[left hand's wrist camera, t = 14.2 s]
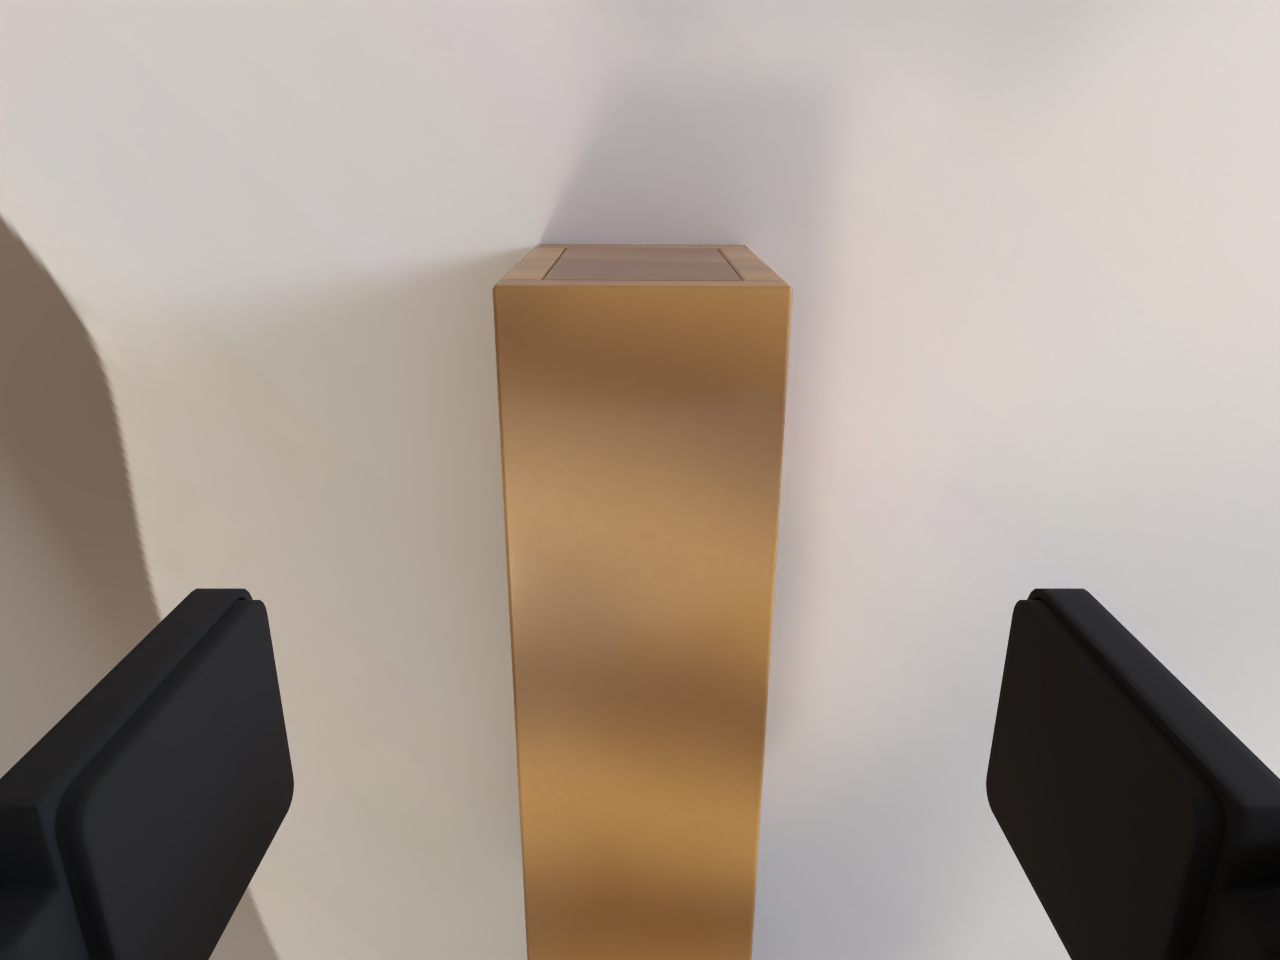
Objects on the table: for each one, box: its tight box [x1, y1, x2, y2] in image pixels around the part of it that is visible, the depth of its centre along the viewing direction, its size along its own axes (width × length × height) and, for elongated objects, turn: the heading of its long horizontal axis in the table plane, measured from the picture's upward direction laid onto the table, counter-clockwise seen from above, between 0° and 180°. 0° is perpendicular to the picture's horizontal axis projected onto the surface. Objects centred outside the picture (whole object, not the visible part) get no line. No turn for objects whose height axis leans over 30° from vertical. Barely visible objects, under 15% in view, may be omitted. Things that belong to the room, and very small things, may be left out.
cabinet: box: [493, 244, 793, 960], centre depth 26 cm, size 20×6×9 cm, turn 0°
